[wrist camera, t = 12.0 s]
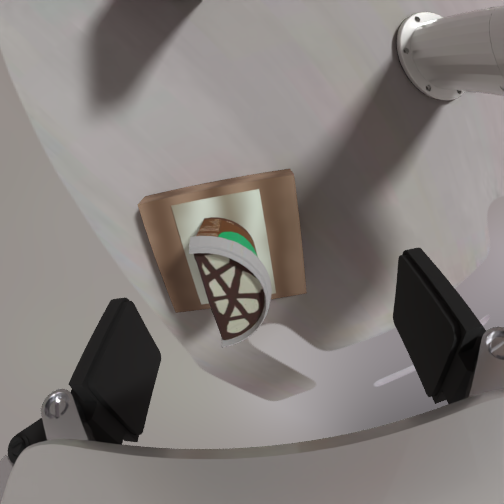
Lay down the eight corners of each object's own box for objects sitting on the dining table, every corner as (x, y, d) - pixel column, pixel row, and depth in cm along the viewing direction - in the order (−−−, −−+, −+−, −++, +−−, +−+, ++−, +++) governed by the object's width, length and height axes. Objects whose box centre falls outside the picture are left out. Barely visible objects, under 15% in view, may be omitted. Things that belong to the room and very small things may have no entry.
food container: (273, 286, 39) (281, 342, 30) (226, 294, 39) (222, 351, 30) (255, 195, 33) (261, 233, 24) (200, 206, 33) (186, 247, 24)
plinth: (289, 168, 35) (294, 175, 32) (302, 280, 42) (306, 294, 40) (144, 196, 36) (137, 205, 33) (179, 299, 43) (175, 313, 40)
